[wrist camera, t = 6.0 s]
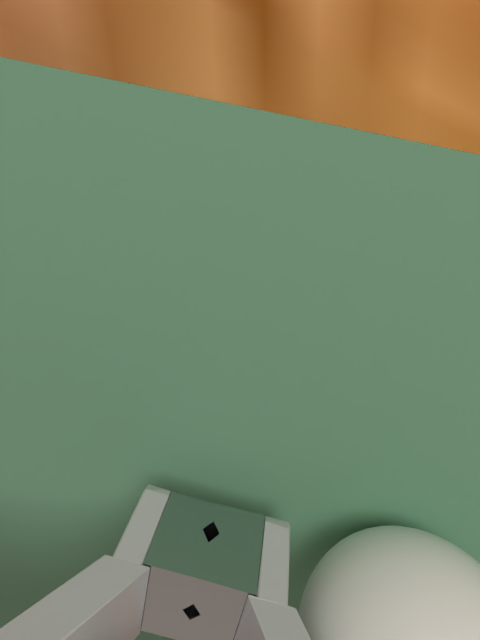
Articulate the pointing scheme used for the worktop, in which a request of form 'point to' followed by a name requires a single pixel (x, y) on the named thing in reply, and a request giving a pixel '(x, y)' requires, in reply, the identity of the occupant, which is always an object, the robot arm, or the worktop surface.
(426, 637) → the ball
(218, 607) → the robot arm
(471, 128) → the worktop surface
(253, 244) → the green
